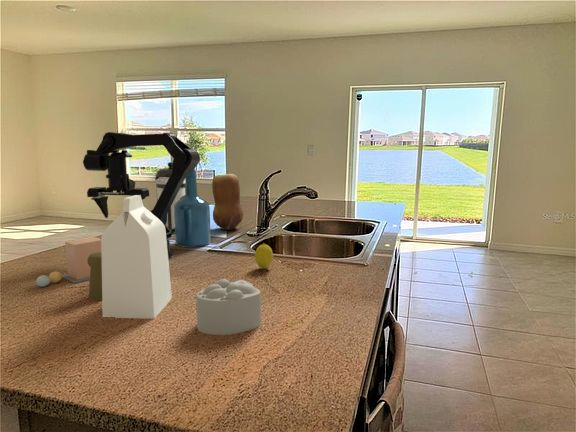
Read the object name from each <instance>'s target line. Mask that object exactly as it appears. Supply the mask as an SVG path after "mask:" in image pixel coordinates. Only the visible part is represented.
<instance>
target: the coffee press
mask: <svg viewBox="0 0 576 432" xmlns="http://www.w3.org/2000/svg"><path fill="white" fill-rule="evenodd" d="M167 166H168V167H167V168H165V167H164V168H163V167H162V168H159V169H158V170H157V171H156V173H155V177H154V183H155V185H156V186H155V187H156V202H157V201H158V199H159V197H160V195H161V193H162V191H163V189H164V187H165V185H166V183H167V181H168V179H169V177H170V175H171V173H172V162H167ZM184 195H185V180H184V182H183V184H182V186H181V188H180V190H179V191H178V193H177V195H176V197H175V199H174V201H173V203H172V205H171V207H170V209H169V211H168V213H167V222H166V226H167V227H168V228H169V229H170V230H171V231H172V232H173V230H175V220H174V205H175V203H176V202H177V201H178V200H179V199H180V198H181V197H182V196H184Z"/></svg>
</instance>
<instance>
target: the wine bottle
mask: <svg viewBox="0 0 576 432" xmlns="http://www.w3.org/2000/svg"><path fill="white" fill-rule="evenodd" d="M197 178H198V177H197V171H196V169H194V170H193V171H192V172H191V173H190V174H189V175H188V176H187V177H186V178H185V195H184V196H182V197H181V198H180V199H179V200H178V201H177V202H176V203H175V205H174V220H175V229H174V236H175V237H174V239H175V244H176V246H179V247H182V248H199V247H203V246H206V245H209V244H210V243H211V211H210V210H211V209H210V204H209V202H207V200H205V199H204V198H203V197H200V196H199V195H198V185H197Z"/></svg>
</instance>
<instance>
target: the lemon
mask: <svg viewBox="0 0 576 432" xmlns="http://www.w3.org/2000/svg"><path fill="white" fill-rule="evenodd" d="M254 252H255V253H254V260H255V263H256V265H257V266H259V267H261V268H262V269H263V270H265V269H266V268H268V267H270V266H271V264H272V263H273V260H274V254H273V249H272V248H271V247H270V246H269V245H268V244H266V243H262V244H260V245H258V247H257V248H256V250H255V251H254Z"/></svg>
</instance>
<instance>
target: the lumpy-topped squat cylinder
mask: <svg viewBox="0 0 576 432" xmlns="http://www.w3.org/2000/svg"><path fill="white" fill-rule="evenodd" d="M261 297H262V293H261V290H260V289H259V288H256V287H254V285H253V284H252V283H251V282H248V281H246V280H244V279H238V280H235V281H231V282H230V281H229V280H228V279H226V278H221V279H219V280H217V281H216V282H214V283H212V284H209V285H208V286H206V287H205V288H203V289H201V290H200V291H199V292H198V293H197V294H196V297H195V298H196V304H195V305H196V306H195V307H196V326H197V327H196V328H197V331H198V332H200V333H202V334H207V335H211V336H212V335H213V336H230V335H235V334H238V333H239V334H240V333H244V332H247V331H252V330H255V329H257V328H259V327H260V326H261V325H262V298H261Z"/></svg>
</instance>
